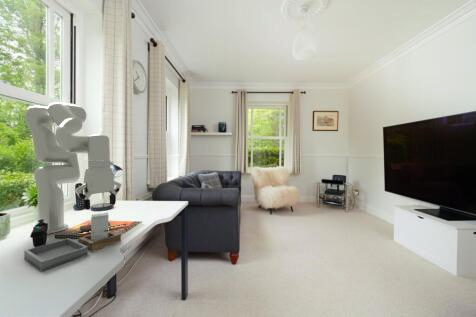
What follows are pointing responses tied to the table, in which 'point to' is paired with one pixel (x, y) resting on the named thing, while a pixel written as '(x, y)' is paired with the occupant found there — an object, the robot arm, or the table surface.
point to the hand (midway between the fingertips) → (100, 206)
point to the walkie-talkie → (88, 227)
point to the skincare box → (99, 226)
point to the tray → (55, 253)
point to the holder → (100, 241)
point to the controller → (39, 233)
